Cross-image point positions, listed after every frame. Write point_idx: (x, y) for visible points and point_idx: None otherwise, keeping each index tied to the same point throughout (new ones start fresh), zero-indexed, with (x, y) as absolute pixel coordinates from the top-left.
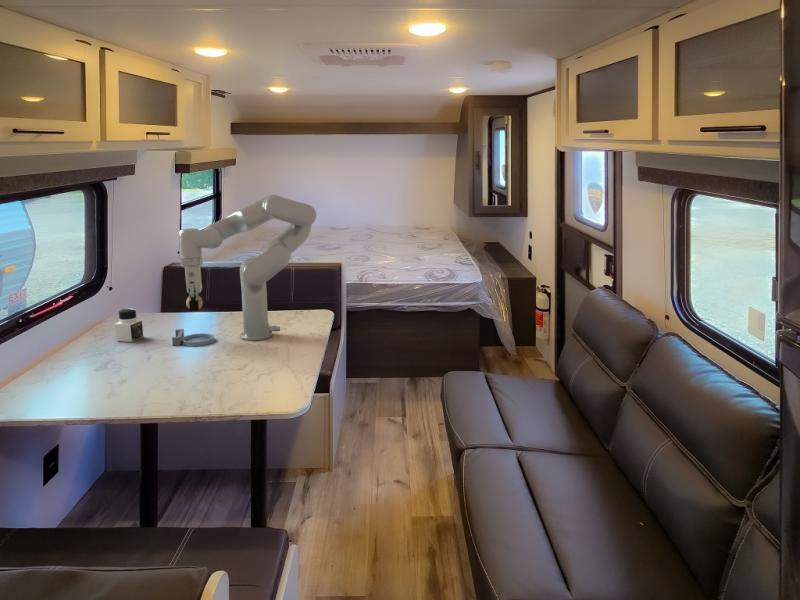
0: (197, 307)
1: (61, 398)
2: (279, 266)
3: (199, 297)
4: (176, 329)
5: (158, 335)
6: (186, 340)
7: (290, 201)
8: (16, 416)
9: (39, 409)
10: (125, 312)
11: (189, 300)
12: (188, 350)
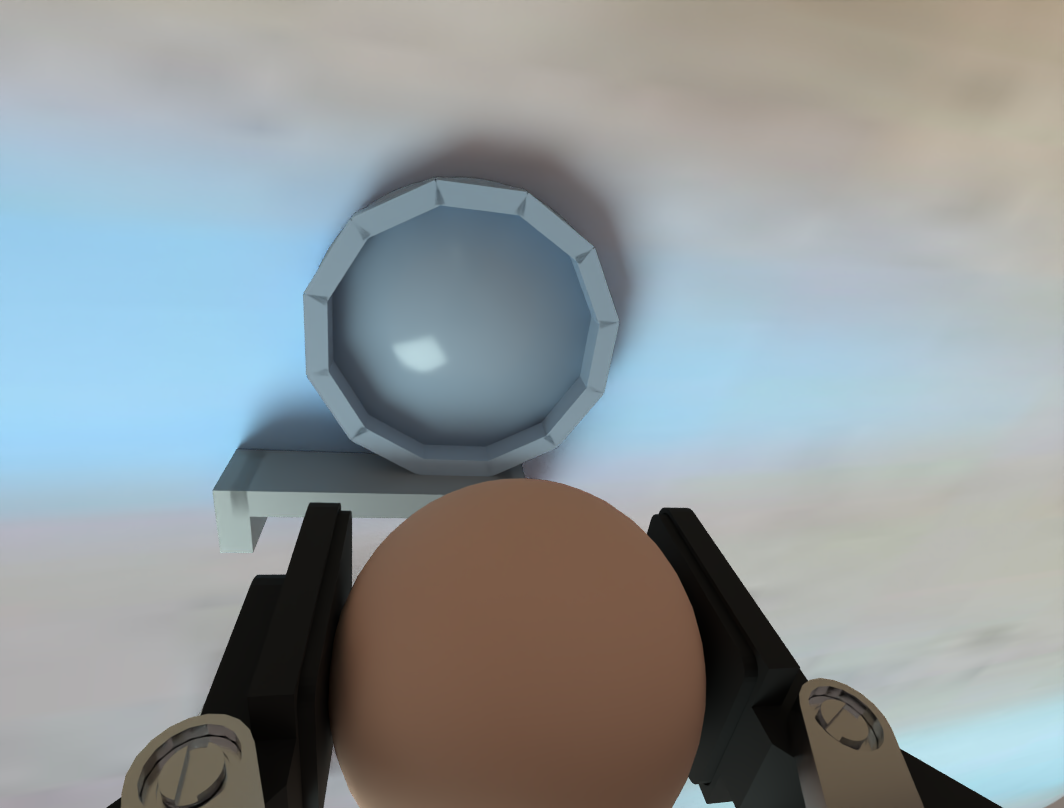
0: (707, 555)
1: (1005, 754)
2: None
3: (632, 689)
4: (221, 545)
5: (170, 622)
6: (424, 429)
7: None
8: (1053, 796)
9: (1048, 772)
10: None
11: (727, 797)
12: (685, 404)
